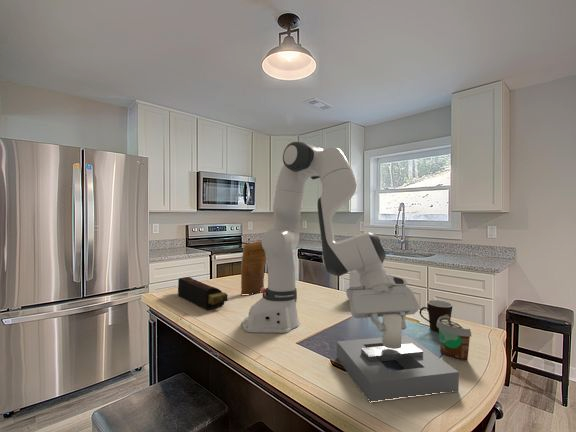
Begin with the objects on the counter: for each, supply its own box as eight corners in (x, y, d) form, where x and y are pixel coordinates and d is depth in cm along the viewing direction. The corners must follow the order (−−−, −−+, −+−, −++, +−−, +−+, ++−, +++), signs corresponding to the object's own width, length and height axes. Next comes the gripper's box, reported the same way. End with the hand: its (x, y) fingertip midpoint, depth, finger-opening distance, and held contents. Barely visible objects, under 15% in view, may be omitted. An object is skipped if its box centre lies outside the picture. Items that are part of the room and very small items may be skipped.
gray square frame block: (370, 403, 70) (370, 382, 70) (336, 357, 92) (336, 341, 92) (458, 391, 75) (458, 371, 75) (407, 350, 96) (407, 335, 96)
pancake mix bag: (271, 290, 166) (271, 240, 165) (244, 298, 152) (244, 243, 152) (263, 288, 171) (263, 239, 170) (236, 295, 157) (236, 242, 156)
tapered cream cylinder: (388, 349, 80) (388, 320, 80) (379, 341, 85) (379, 313, 85) (405, 348, 81) (405, 318, 81) (394, 340, 86) (395, 312, 86)
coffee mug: (449, 326, 116) (450, 301, 116) (454, 335, 108) (454, 308, 108) (417, 322, 120) (417, 298, 120) (419, 331, 112) (419, 304, 112)
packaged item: (229, 308, 136) (229, 287, 136) (210, 313, 130) (210, 291, 129) (191, 291, 165) (191, 273, 165) (174, 294, 158) (174, 276, 158)
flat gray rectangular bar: (369, 362, 79) (369, 356, 79) (361, 353, 84) (361, 348, 84) (423, 356, 82) (423, 351, 82) (412, 348, 87) (412, 343, 87)
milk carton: (364, 303, 144) (364, 264, 144) (349, 302, 146) (349, 264, 145) (363, 299, 151) (364, 262, 151) (349, 298, 153) (349, 261, 152)
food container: (428, 344, 101) (428, 315, 100) (445, 344, 101) (446, 315, 101) (451, 363, 88) (452, 330, 88) (470, 362, 89) (471, 329, 89)
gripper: (347, 281, 87) (361, 327, 78) (410, 279, 91) (430, 322, 82) (341, 292, 92) (354, 337, 83) (401, 289, 96) (420, 331, 87)
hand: (393, 329), depth 82 cm, fingers closed on tapered cream cylinder, 5 cm apart
